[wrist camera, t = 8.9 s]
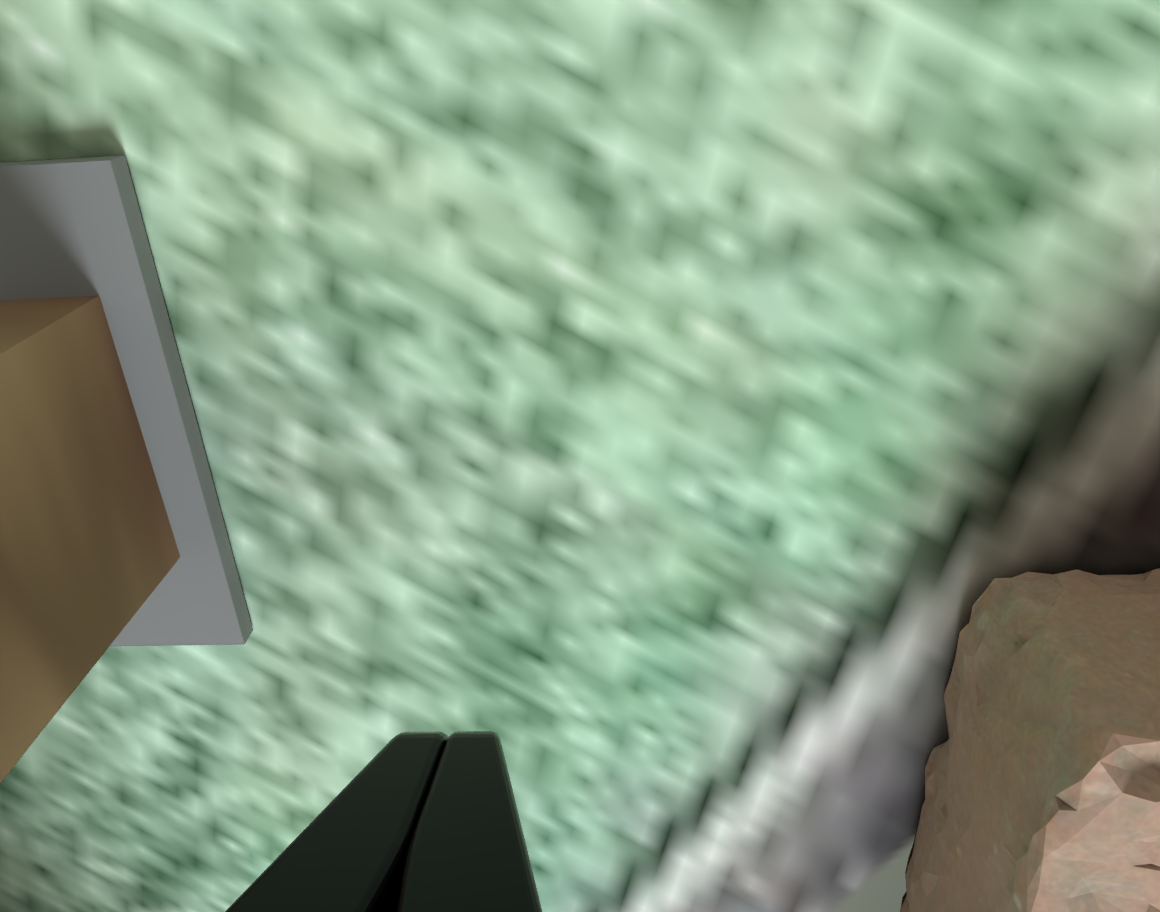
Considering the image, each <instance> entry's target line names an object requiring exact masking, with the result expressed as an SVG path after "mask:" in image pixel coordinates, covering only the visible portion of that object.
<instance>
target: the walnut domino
mask: <svg viewBox="0 0 1160 912" xmlns="http://www.w3.org/2000/svg"><path fill="white" fill-rule="evenodd" d="M179 558H180V554H179V551H178V548H177V544H176V541H175V538H174V535H173V531H172V528H171V525H170V522H169V519H168V515H167V512H166V509H165V506H164V502H163V499H162V496H161V493H160V489H159V486H158V483H157V480H156V477H155V473H154V470H153V467H152V464H151V460H150V457H149V454H148V451H147V448H146V444H145V441H144V438H143V435H142V431H141V428H140V425H139V422H138V418H137V415H136V412H135V409H134V406H133V402H132V399H131V396H130V393H129V389H128V386H127V383H126V380H125V376H124V373H123V370H122V367H121V364H120V360H119V357H118V354H117V351H116V347H115V344H114V341H113V338H112V334H111V331H110V328H109V325H108V322H107V318H106V315H105V312H104V309H103V305H102V302H101V299H100V296H99V295H98V296H80V297H63V298H45V299H28V300H10V301H0V783H1V782H2V780H3V779H4V778H5V777H6V775H7V774H8V773H9V772H10V770H11V769H12V768H13V767H14V765H15V764H16V763H17V762H18V760H19V759H20V758H21V757H22V755H23V754H24V753H25V751H26V750H27V749H28V748H29V746H30V745H31V744H32V743H33V741H34V740H35V739H36V738H37V736H38V735H39V734H40V733H41V731H42V730H43V729H44V728H45V726H46V725H47V724H48V723H49V721H50V720H51V719H52V718H53V716H54V715H55V714H56V713H57V711H58V710H59V709H60V708H61V706H62V705H63V704H64V703H65V701H66V700H67V699H68V698H69V696H70V695H71V694H72V693H73V691H74V690H75V689H76V687H77V686H78V685H79V684H80V682H81V681H82V680H83V679H84V677H85V676H86V675H87V674H88V672H89V671H90V670H91V669H92V667H93V666H94V665H95V664H96V662H97V661H98V660H99V659H100V657H101V656H102V655H103V654H104V652H105V651H106V650H107V649H108V647H109V646H110V645H111V644H112V642H113V641H114V640H115V639H116V637H117V636H118V635H119V634H120V632H121V631H122V630H123V629H124V627H125V626H126V625H127V623H128V622H129V621H130V620H131V618H132V617H133V616H134V615H135V613H136V612H137V611H138V610H139V608H140V607H141V606H142V605H143V603H144V602H145V601H146V600H147V598H148V597H149V596H150V595H151V593H152V592H153V591H154V590H155V588H156V587H157V586H158V585H159V583H160V582H161V581H162V580H163V578H164V577H165V576H166V575H167V573H168V572H169V571H170V570H171V568H172V567H173V566H174V565H175V563H176V562H177V561H178V559H179Z"/></svg>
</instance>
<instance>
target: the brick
mask: <svg viewBox="0 0 1160 912" xmlns="http://www.w3.org/2000/svg"><path fill="white" fill-rule="evenodd" d="M944 701H945V709H946V717H947V725H948V732H949V739H948V740H947V742H945V743H943V744H940V745H938V746H936V747H934V748H933V750H932V752H931V754H930V757H929V759H928V762H927V764H926V767H925V801H924V804H923V806H922V810H921V815H920V821H919V825H918V829H917V833H916V837H915V839H914V842H913V845H912V848H911V851H910V854H909V857H908V862H907V867H906V871H905V874H906V889H907V891H906V893H905V894H904V896H903V897H902V903H901V910H900V912H1160V568H1159V569H1155V570H1151V571H1149V572H1146V573H1144V574H1135V575H1096V574H1092V573H1088V572H1084V571H1081V570H1077V569H1076V570H1072V571H1067V572H1062V573H1058V574H1045V573H1035V572H1026V573H1023V574H1020V575H1017V576H1015V577H1012V578H994V579H993V581H992V582H991V583H990V585H989V586H988V587H987V589H986V590H985V591H984V593H983V594H982V595H981V596H980V597H979V598H978V600H977V601H976V602H975V603H974V604H973V607H972V612H971V617H970V622H969V623H968V624H967V625H966V626H965V627H964V628H963V629H962V630H961V631H960V633H959V639H958V645H957V651H956V657H955V661H954V665H953V668H952V672H951V676H950V679H949V682H948V685H947V687H946V690H945V693H944Z"/></svg>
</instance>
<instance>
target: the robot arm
mask: <svg viewBox="0 0 1160 912" xmlns="http://www.w3.org/2000/svg"><path fill="white" fill-rule="evenodd" d="M225 912H542V909H541V905H540V901H539V896H538V892H537V888H536V884H535V880H534V876H533V872H532V868H531V864H530V860H529V855H528V851H527V847H526V843H525V839H524V835H523V831H522V827H521V823H520V819H519V814H518V810H517V806H516V802H515V798H514V794H513V790H512V786H511V782H510V778H509V773H508V769H507V765H506V761H505V757H504V753H503V749H502V745H501V741H500V738H499V736H498V735H497V733H495V732H491V731H474V732H454V733H453V734H451V735H450V736H449V737H448V736H447V735H446V734H444V733H442V732H404V733H400V734H399V735H397V736H395V737H394V738H393V739H392V740H391V741H390V742H389V743H388V744H387V745H386V746H385V747H384V748H383V749H382V750H381V751H380V752H379V753H378V754H377V755H376V756H375V757H374V758H373V759H372V760H371V761H370V762H369V763H368V765H367V766H366V767H365V768H364V769H363V770H362V771H361V772H360V773H359V774H358V775H357V776H356V777H355V778H354V779H353V780H352V781H351V782H350V783H349V784H348V785H347V786H346V787H345V788H344V789H343V790H342V791H341V792H340V793H339V795H338V796H337V797H336V798H335V799H334V800H333V801H332V802H331V803H330V804H329V805H328V806H327V807H326V808H325V809H324V810H323V811H322V812H321V813H320V814H319V815H318V816H317V817H316V818H315V819H314V820H313V821H312V822H311V823H310V825H309V826H308V827H307V828H306V829H305V830H304V831H303V832H302V833H301V834H300V835H299V836H298V837H297V838H296V839H295V840H294V841H293V842H292V843H291V844H290V845H289V846H288V847H287V848H286V849H285V850H284V851H283V852H282V853H281V855H280V856H279V857H278V858H277V859H276V860H275V861H274V862H273V863H272V864H271V865H270V866H269V867H268V868H267V869H266V870H265V871H264V872H263V873H262V874H261V875H260V876H259V877H258V878H257V879H256V880H255V881H254V882H253V883H252V885H251V886H250V887H249V888H248V889H247V890H246V891H245V892H244V893H243V894H242V895H241V896H240V897H239V898H238V899H237V900H236V901H235V902H234V903H233V904H232V905H231V906H230V907H229V908H228V909H227V910H226V911H225Z"/></svg>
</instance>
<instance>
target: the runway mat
mask: <svg viewBox="0 0 1160 912" xmlns="http://www.w3.org/2000/svg"><path fill="white" fill-rule="evenodd" d="M98 295H99V296H100V299H101V302H102V305H103V309H104V312H105V315H106V318H107V322H108V325H109V328H110V331H111V334H112V338H113V341H114V344H115V347H116V351H117V354H118V357H119V360H120V364H121V367H122V370H123V373H124V376H125V380H126V383H127V386H128V389H129V393H130V396H131V399H132V402H133V406H134V409H135V412H136V415H137V418H138V422H139V425H140V428H141V431H142V435H143V438H144V441H145V444H146V448H147V451H148V454H149V457H150V460H151V464H152V467H153V470H154V473H155V477H156V480H157V483H158V486H159V489H160V493H161V496H162V499H163V502H164V506H165V509H166V512H167V515H168V519H169V522H170V525H171V528H172V531H173V535H174V538H175V541H176V544H177V548H178V551H179V554H180V558H179V559H178V561H177V562H176V563H175V565H174V566H173V567H172V568H171V570H170V571H169V572H168V573H167V575H166V576H165V577H164V578H163V580H162V581H161V582H160V583H159V585H158V586H157V587H156V588H155V590H154V591H153V592H152V593H151V595H150V596H149V597H148V598H147V600H146V601H145V602H144V603H143V605H142V606H141V607H140V608H139V610H138V611H137V612H136V613H135V615H134V616H133V617H132V618H131V620H130V621H129V622H128V623H127V625H126V626H125V627H124V629H123V630H122V631H121V632H120V634H119V635H118V636H117V637H116V639H115V640H114V641H113V642H112V644H111V645H110V646H162V645H233V644H245V643H246V641H247V639H248V638H249V636H250V634H251V633H252V631H253V628H252V624H251V621H250V617H249V613H248V609H247V606H246V602H245V598H244V595H243V591H242V587H241V583H240V580H239V576H238V572H237V569H236V565H235V561H234V558H233V554H232V550H231V546H230V543H229V539H228V535H227V532H226V528H225V524H224V520H223V517H222V513H221V509H220V506H219V502H218V498H217V495H216V491H215V487H214V483H213V480H212V476H211V472H210V469H209V465H208V461H207V457H206V454H205V450H204V446H203V443H202V439H201V435H200V432H199V428H198V424H197V420H196V417H195V413H194V409H193V406H192V402H191V398H190V395H189V391H188V387H187V383H186V380H185V376H184V372H183V369H182V365H181V361H180V357H179V354H178V350H177V346H176V343H175V339H174V335H173V332H172V328H171V324H170V320H169V317H168V313H167V309H166V306H165V302H164V298H163V294H162V291H161V287H160V283H159V280H158V276H157V272H156V269H155V265H154V261H153V257H152V254H151V250H150V246H149V243H148V239H147V235H146V231H145V228H144V224H143V220H142V217H141V213H140V209H139V206H138V202H137V198H136V194H135V191H134V187H133V183H132V180H131V176H130V172H129V168H128V165H127V161H126V157H125V155H118V156H101V157H85V158H68V159H51V160H35V161H18V162H2V163H0V301H10V300H28V299H45V298H63V297H80V296H98Z"/></svg>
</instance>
